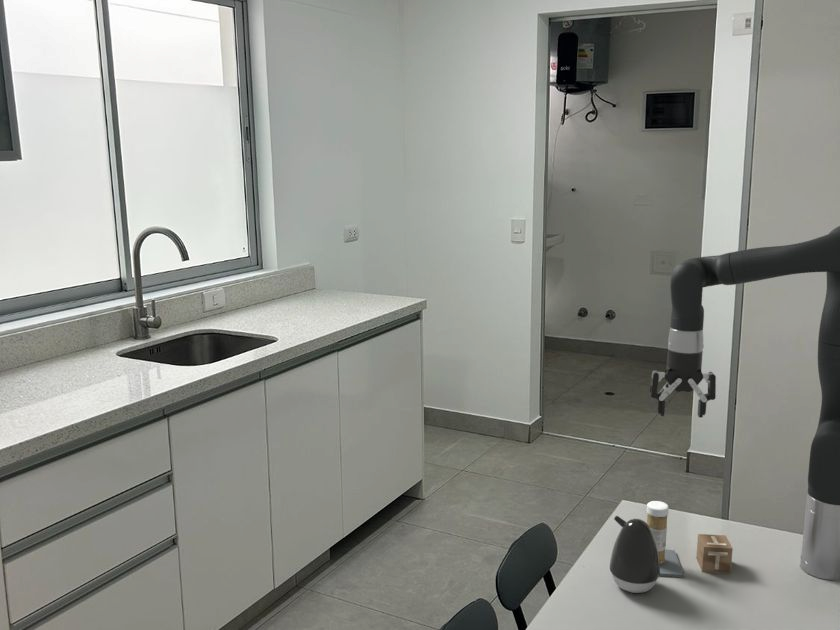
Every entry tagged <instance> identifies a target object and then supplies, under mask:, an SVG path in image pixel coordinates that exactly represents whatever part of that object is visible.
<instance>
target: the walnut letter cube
mask: <svg viewBox="0 0 840 630" xmlns="http://www.w3.org/2000/svg"><path fill="white" fill-rule="evenodd" d="M696 544H697V546H696V557H695V558H696V561H697V563H698V565H699V568H700V569H701V572H702V573H715V574H716V573H717V574H731V572H732V563H733V562H732V561H733V560H732V559H733V546H732V544H731V543H730V541H729V539H728V536H727V535H726V534H725V535H724V534H705V533H704V534H703V533H697V543H696Z"/></svg>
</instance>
